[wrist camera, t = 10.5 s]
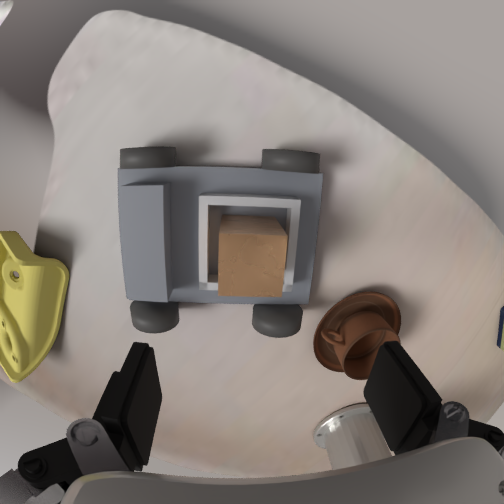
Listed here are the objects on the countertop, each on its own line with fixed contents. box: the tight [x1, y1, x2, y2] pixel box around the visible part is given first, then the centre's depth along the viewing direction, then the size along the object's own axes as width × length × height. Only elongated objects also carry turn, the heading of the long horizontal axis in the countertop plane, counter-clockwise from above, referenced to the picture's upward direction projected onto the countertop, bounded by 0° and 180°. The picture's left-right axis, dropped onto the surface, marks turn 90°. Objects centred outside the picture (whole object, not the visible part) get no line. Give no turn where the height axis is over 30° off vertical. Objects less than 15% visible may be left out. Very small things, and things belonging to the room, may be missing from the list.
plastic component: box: [0, 231, 69, 383], centre depth 29 cm, size 20×8×10 cm
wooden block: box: [218, 215, 288, 297], centre depth 25 cm, size 5×5×7 cm
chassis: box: [118, 147, 323, 338], centre depth 27 cm, size 20×18×5 cm
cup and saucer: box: [313, 292, 401, 380], centre depth 32 cm, size 12×12×6 cm
